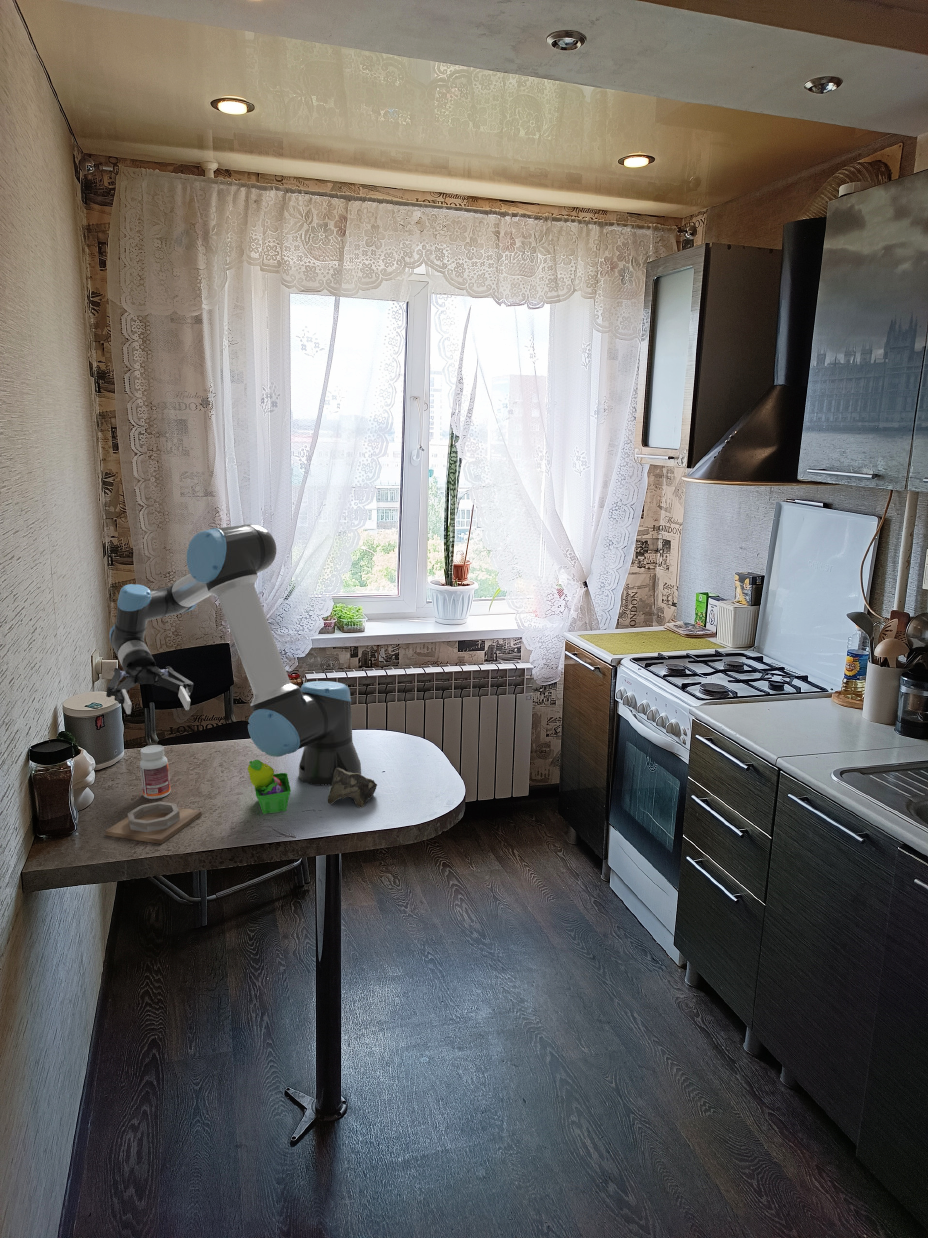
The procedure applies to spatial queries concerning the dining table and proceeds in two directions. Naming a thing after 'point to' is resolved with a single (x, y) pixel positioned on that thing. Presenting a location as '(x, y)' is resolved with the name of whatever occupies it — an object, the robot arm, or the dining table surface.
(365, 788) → the fossil
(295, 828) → the dining table surface
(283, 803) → the fruit basket
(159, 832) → the carrier plate
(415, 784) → the dining table surface
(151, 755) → the pill bottle
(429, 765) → the dining table surface
